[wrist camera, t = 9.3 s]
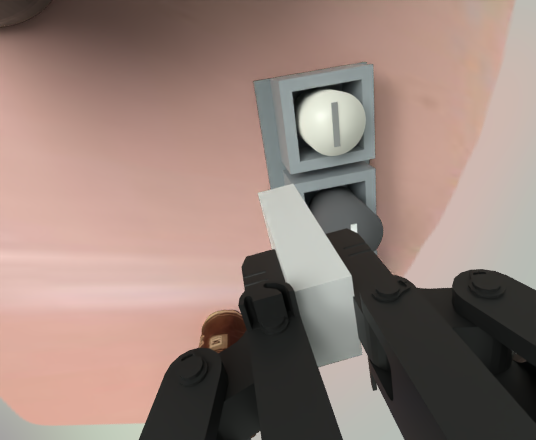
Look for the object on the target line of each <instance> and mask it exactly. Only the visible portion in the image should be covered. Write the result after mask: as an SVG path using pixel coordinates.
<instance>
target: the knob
mask: <svg viewBox="0 0 536 440" xmlns="http://www.w3.org/2000/svg"><path fill="white" fill-rule="evenodd" d="M293 105H294V114H295V122H296V131H297V135H298V136H299V137H300V138H302V139H303V140H304V141H305V142H306V143H307V144H309V145H310V146H311V147H312V148H313V149H315V150H316V151H317V152H319V153H321V154H323V155H327V156H338V155H342V154H344V153H346V152H348V151H350V150H351V149H352V148H354V147H355V146H356V145H357V143H358V142H359V141H360V139H361V137H362V135H363V133H364V130H365V125H366V115H365V111H364V108H363V106H362V104H361V103H360V101H359V100H358V99H357V98H356V97H354V96H353V95H351V94H349V93H346V92H342V91H337V90H332V89H327V88H322V87H316V88H310V89H308V90H306V91H304V92H303V93H301V94H300V95H299V96H298V97H297V99H296V100H295V102H294V104H293Z"/></svg>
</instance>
